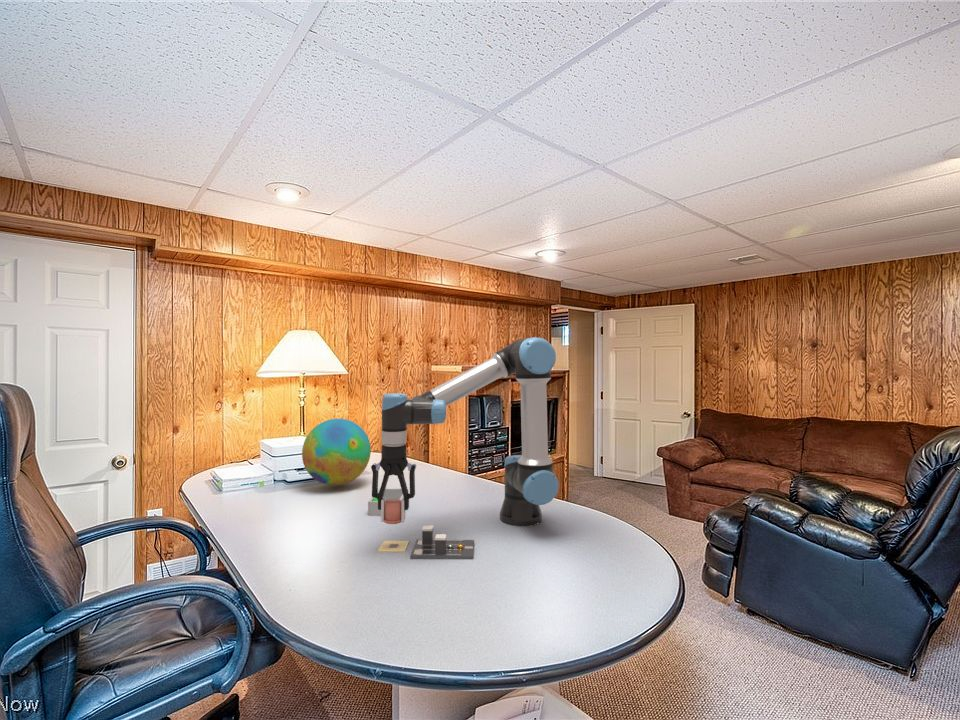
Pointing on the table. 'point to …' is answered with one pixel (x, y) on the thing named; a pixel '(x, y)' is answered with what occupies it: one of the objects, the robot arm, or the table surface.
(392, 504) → the cap
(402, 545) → the pad
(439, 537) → the toggle
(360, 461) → the globe
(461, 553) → the breaker panel
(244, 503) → the table surface
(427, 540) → the toggle
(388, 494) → the parts corral
